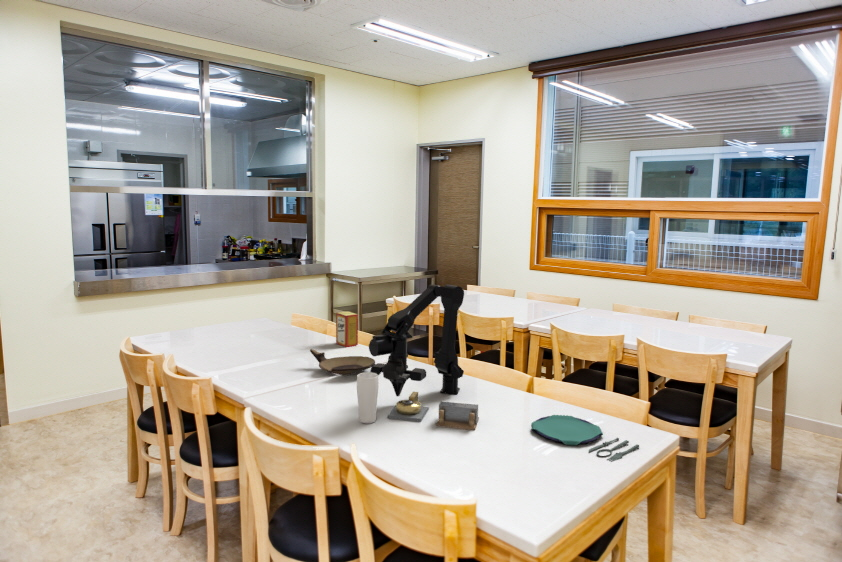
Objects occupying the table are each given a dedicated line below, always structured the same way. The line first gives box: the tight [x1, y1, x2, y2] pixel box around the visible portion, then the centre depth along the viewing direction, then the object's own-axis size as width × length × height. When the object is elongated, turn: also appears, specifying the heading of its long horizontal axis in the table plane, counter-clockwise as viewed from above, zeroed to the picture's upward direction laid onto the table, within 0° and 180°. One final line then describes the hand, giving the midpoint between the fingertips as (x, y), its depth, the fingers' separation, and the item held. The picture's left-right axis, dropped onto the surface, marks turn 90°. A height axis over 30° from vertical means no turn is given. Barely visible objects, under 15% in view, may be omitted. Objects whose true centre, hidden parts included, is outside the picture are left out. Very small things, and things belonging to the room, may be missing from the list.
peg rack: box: [436, 409, 480, 431], centre depth 176 cm, size 9×12×5 cm
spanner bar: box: [438, 401, 479, 425], centre depth 176 cm, size 12×4×5 cm, turn 77°
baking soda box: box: [335, 310, 359, 348], centre depth 273 cm, size 10×6×16 cm
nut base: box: [387, 404, 430, 423], centre depth 183 cm, size 11×11×1 cm
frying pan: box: [309, 348, 377, 376], centre depth 229 cm, size 22×30×8 cm
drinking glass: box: [356, 371, 379, 425], centre depth 175 cm, size 7×7×15 cm
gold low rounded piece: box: [396, 391, 422, 415], centre depth 185 cm, size 14×8×3 cm, turn 167°
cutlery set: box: [530, 414, 640, 462], centre depth 165 cm, size 20×30×2 cm, turn 38°
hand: (398, 396), depth 192 cm, fingers closed
